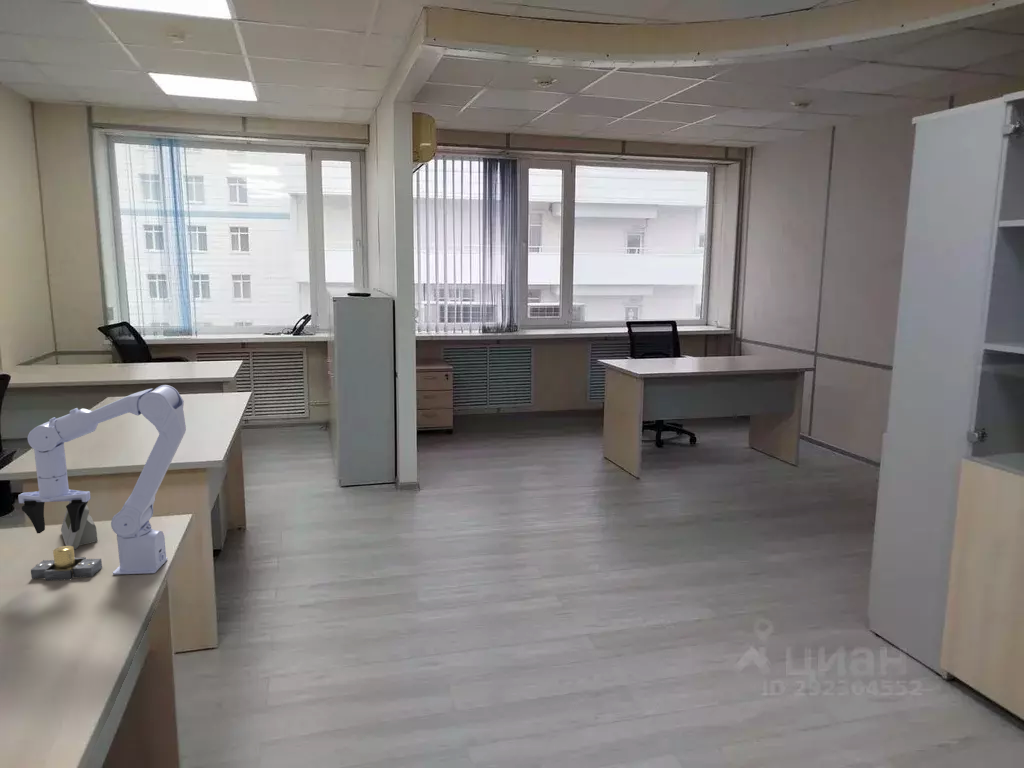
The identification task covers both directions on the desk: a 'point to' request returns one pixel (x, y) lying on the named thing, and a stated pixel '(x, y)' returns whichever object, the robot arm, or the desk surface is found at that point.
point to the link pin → (64, 558)
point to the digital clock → (85, 532)
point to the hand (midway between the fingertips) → (58, 531)
